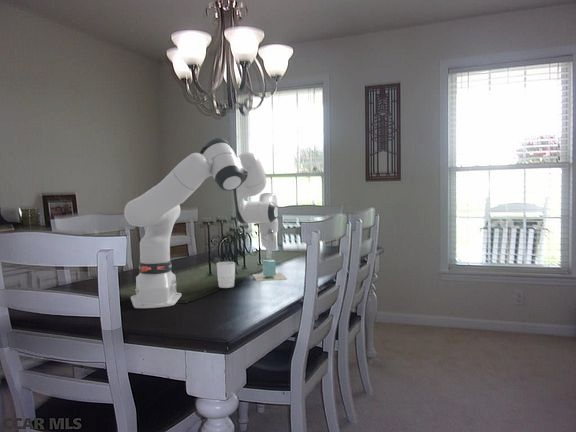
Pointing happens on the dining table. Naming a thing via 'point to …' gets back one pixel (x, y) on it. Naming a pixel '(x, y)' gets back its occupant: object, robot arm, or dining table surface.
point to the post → (268, 277)
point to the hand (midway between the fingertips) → (269, 258)
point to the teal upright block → (269, 268)
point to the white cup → (226, 274)
